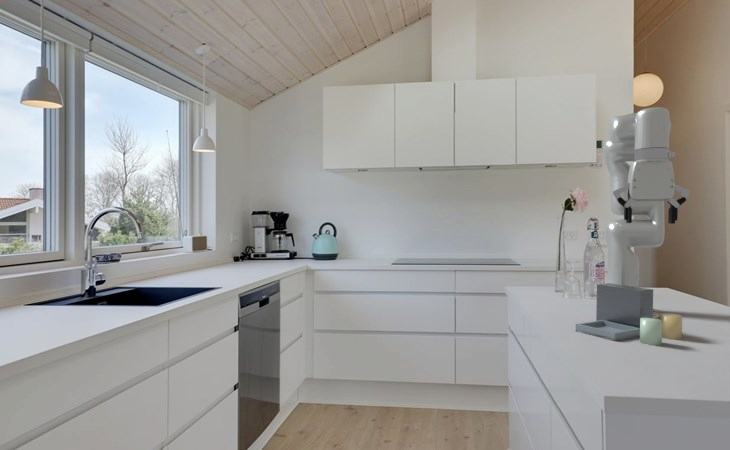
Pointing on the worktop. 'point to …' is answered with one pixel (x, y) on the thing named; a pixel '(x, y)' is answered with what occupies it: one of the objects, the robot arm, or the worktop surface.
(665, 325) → the tan rounded capsule
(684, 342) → the worktop surface
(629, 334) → the tray
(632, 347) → the worktop surface
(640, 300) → the panel
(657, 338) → the mint green rounded cylinder
